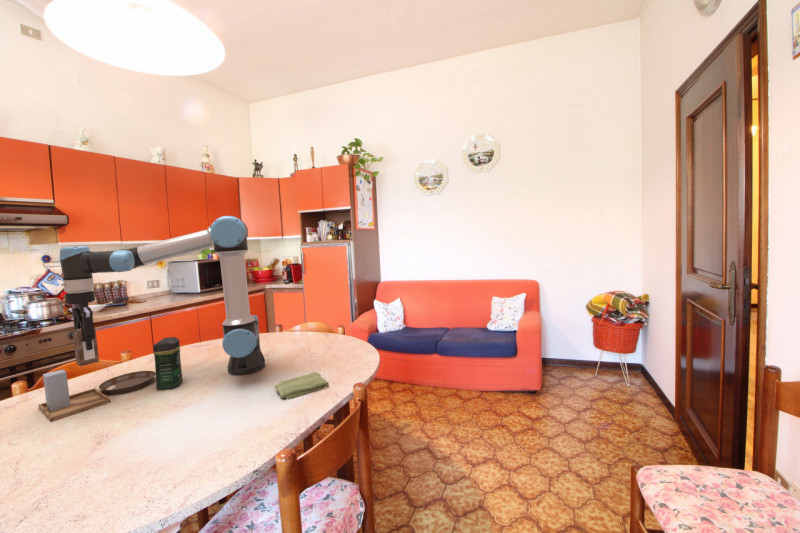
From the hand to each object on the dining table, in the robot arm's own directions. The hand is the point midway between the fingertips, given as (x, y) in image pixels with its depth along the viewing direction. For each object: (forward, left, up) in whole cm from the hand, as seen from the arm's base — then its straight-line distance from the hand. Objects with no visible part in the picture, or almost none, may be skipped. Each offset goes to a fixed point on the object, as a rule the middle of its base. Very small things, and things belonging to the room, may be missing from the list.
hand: (87, 357), depth 120 cm
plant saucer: (+6, -12, -17) cm, 22 cm away
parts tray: (+2, +4, -16) cm, 17 cm away
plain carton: (+6, +8, -16) cm, 19 cm away
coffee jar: (-8, -21, -17) cm, 28 cm away
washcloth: (-55, -47, -17) cm, 74 cm away
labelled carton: (0, 0, -2) cm, 2 cm away
